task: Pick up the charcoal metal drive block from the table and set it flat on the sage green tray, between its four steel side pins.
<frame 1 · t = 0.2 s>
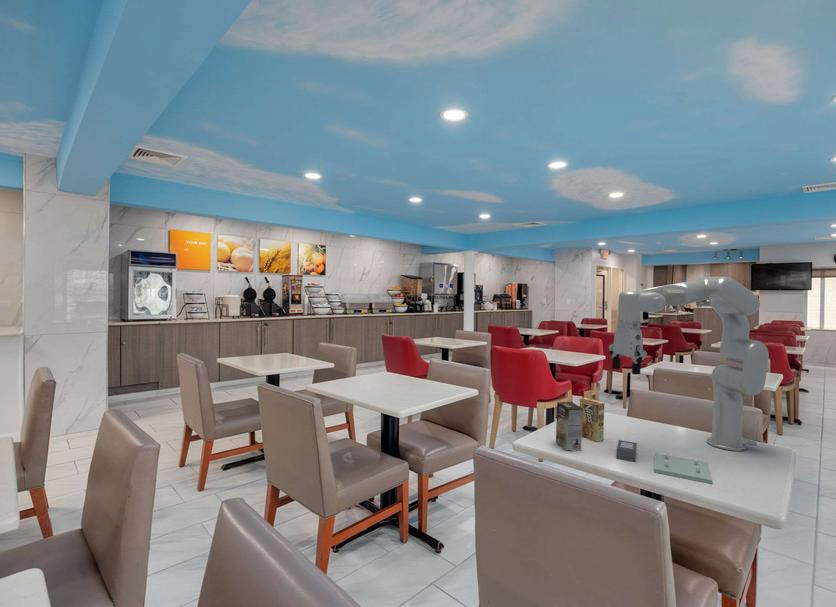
hand: (625, 371, 161), 30 cm above the table, tool pointing down, fingers open, 9 cm apart
candy box: (590, 438, 177), on the table
coffee box: (568, 446, 167), on the table
drive block: (626, 456, 159), on the table
pin tray: (681, 469, 148), on the table
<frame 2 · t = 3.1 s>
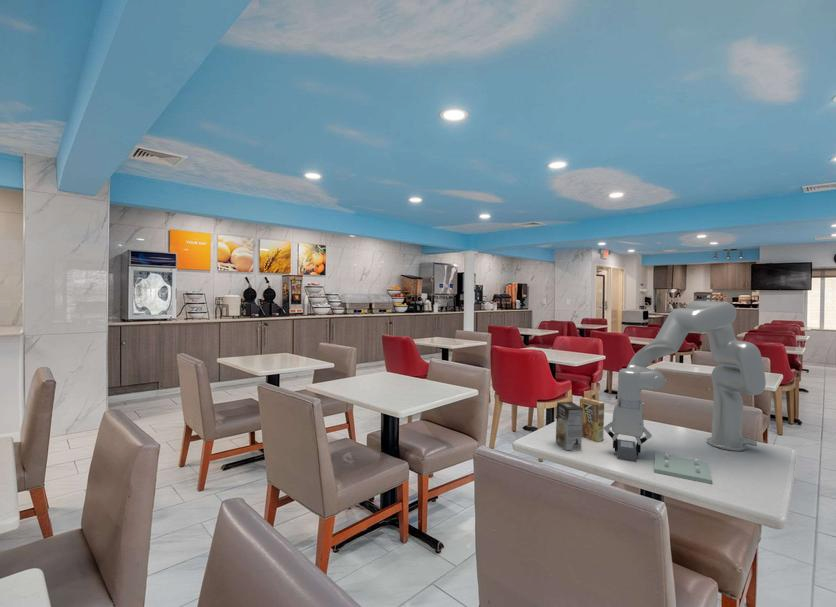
hand: (626, 452, 158), 1 cm above the table, tool pointing down, fingers closed on drive block, 6 cm apart
drive block: (626, 455, 159), on the table, touching gripper
everything else where it was.
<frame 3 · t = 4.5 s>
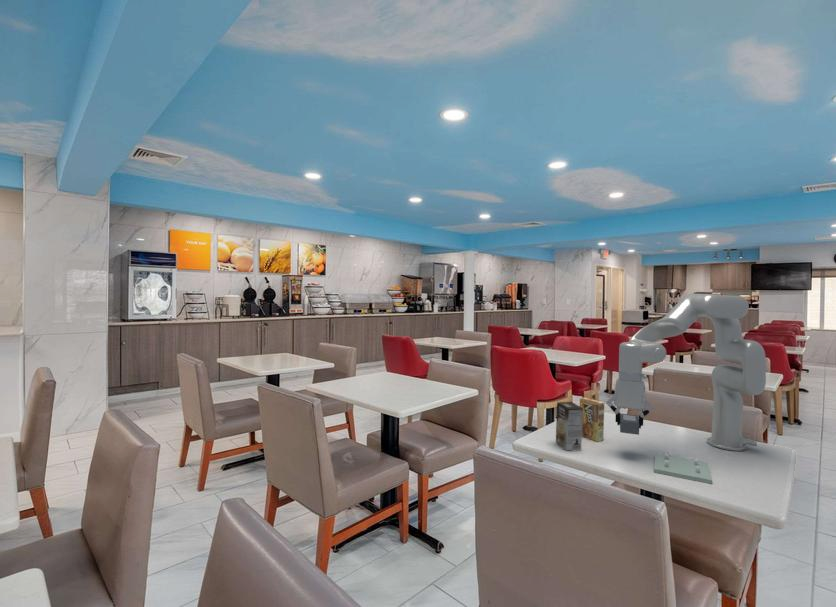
hand: (629, 425, 158), 11 cm above the table, tool pointing down, fingers closed on drive block, 6 cm apart
drive block: (629, 429, 158), point 10 cm above the table, touching gripper
everything else where it was.
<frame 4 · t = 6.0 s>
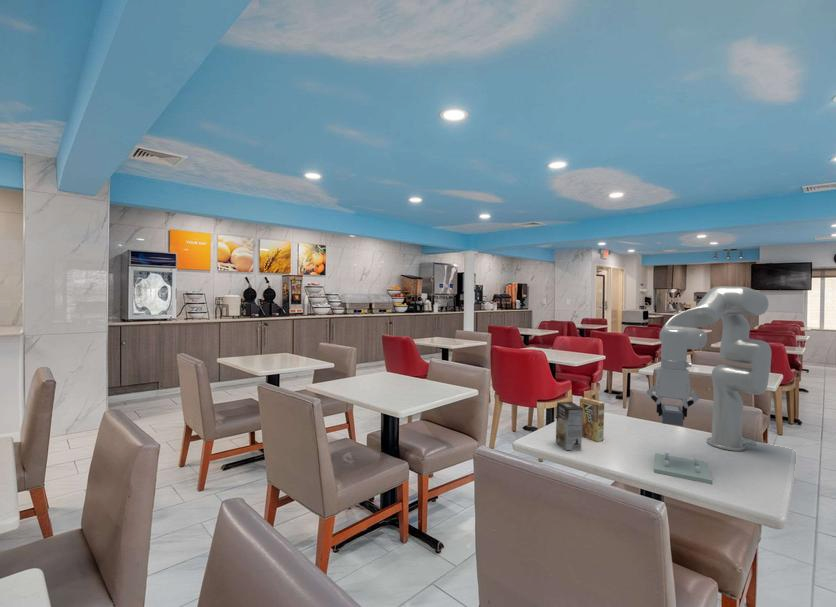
hand: (671, 416, 149), 17 cm above the table, tool pointing down, fingers closed on drive block, 6 cm apart
drive block: (671, 420, 149), point 16 cm above the table, touching gripper
everything else where it was.
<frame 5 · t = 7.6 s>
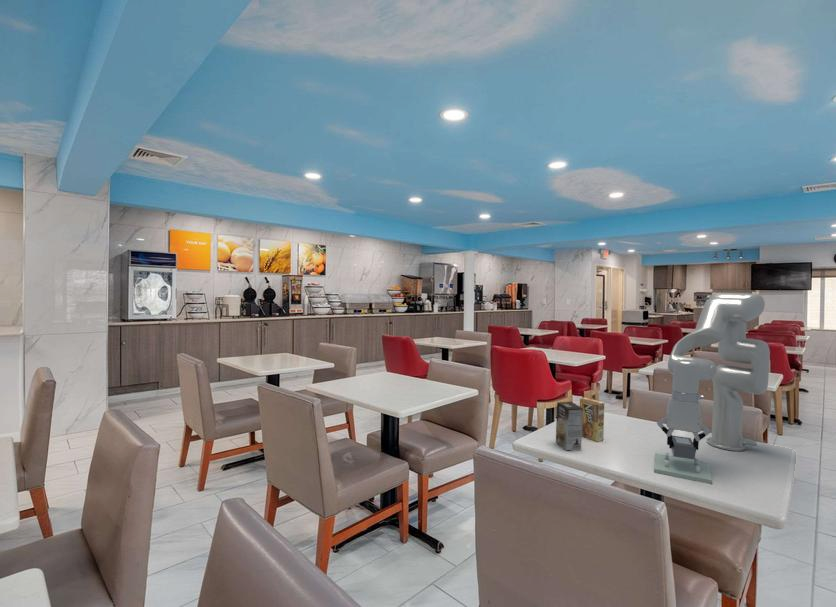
hand: (682, 448, 147), 7 cm above the table, tool pointing down, fingers closed on drive block, 6 cm apart
drive block: (682, 452, 147), point 6 cm above the table, touching gripper
everything else where it was.
when the fingers open (3 cm above the table, at t = 9.0 s): drive block stays where it is, resting on pin tray.
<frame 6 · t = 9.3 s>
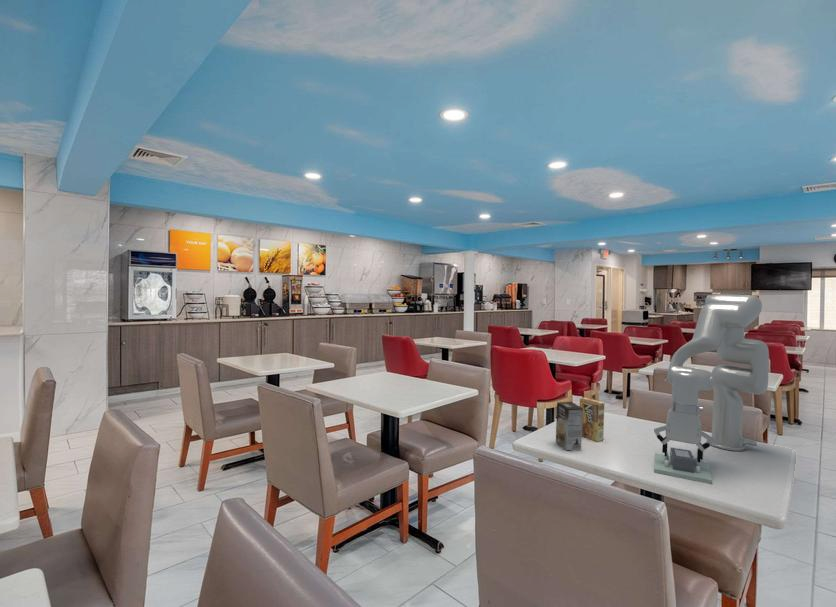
hand: (681, 458, 147), 4 cm above the table, tool pointing down, fingers open, 9 cm apart
drive block: (681, 465, 148), point 1 cm above the table, touching pin tray
everything else where it was.
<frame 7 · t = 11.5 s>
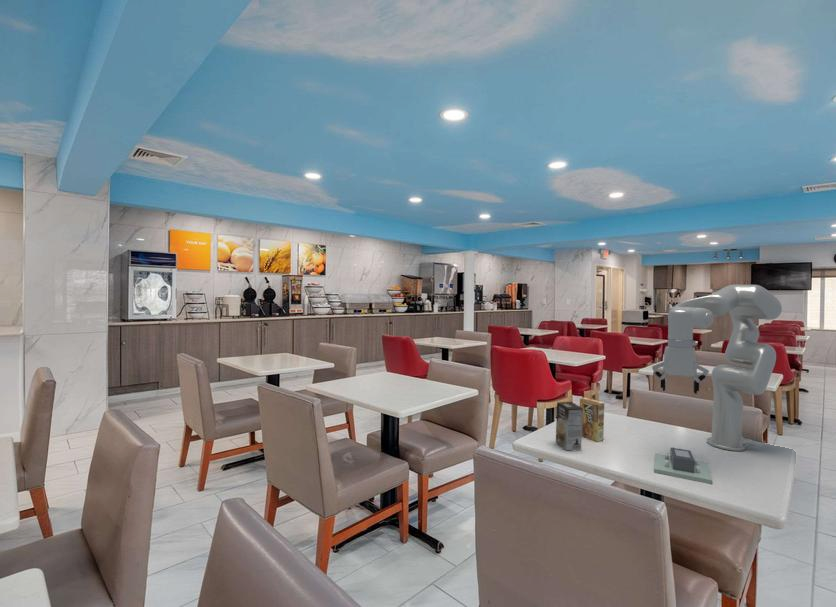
hand: (679, 391, 156), 24 cm above the table, tool pointing down, fingers open, 9 cm apart
nothing on the table moved.
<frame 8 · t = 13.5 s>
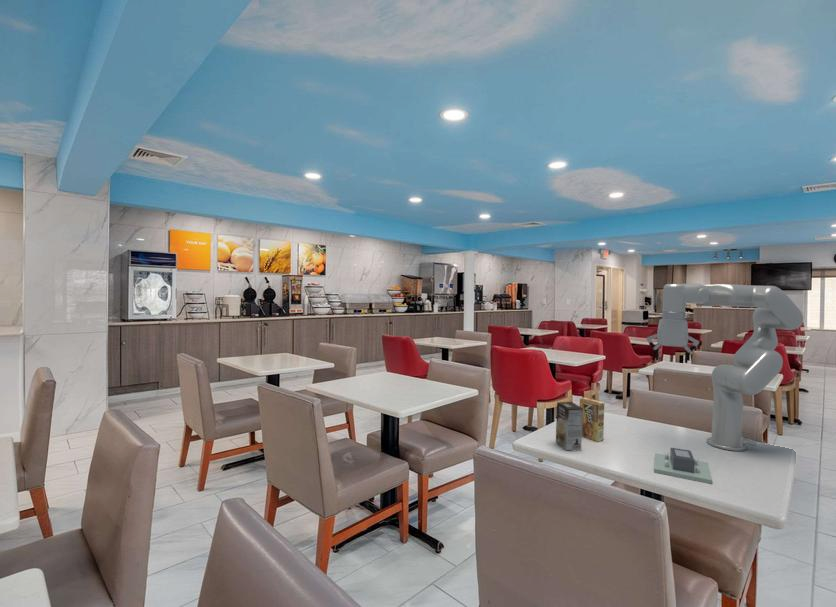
hand: (671, 361, 166), 33 cm above the table, tool pointing down, fingers open, 9 cm apart
nothing on the table moved.
at the end: drive block 0.1 cm off-centre on the pin tray, point 1.2 cm above the pin tray's base; drive block tilted 0°; the gripper is holding nothing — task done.
